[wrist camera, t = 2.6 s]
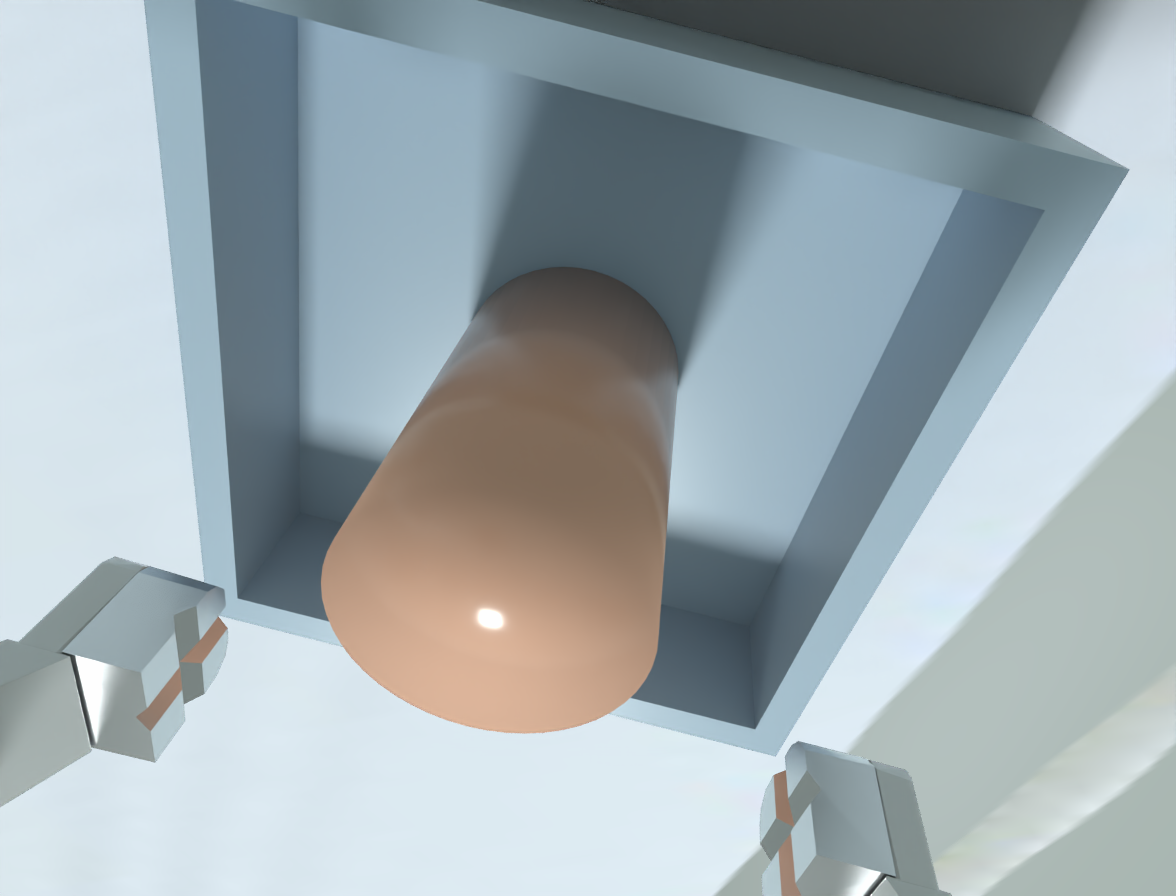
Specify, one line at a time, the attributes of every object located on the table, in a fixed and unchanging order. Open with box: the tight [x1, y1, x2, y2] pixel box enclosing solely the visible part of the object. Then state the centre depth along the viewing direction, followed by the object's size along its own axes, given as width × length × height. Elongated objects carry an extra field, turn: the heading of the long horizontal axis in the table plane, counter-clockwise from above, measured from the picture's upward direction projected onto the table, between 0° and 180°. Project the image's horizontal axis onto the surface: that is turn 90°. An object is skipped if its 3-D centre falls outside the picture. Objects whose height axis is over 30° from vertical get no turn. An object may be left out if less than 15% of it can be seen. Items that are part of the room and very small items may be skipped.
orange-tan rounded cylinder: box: [321, 267, 679, 733], centre depth 14 cm, size 5×5×8 cm
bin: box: [144, 0, 1129, 756], centre depth 17 cm, size 15×15×4 cm
